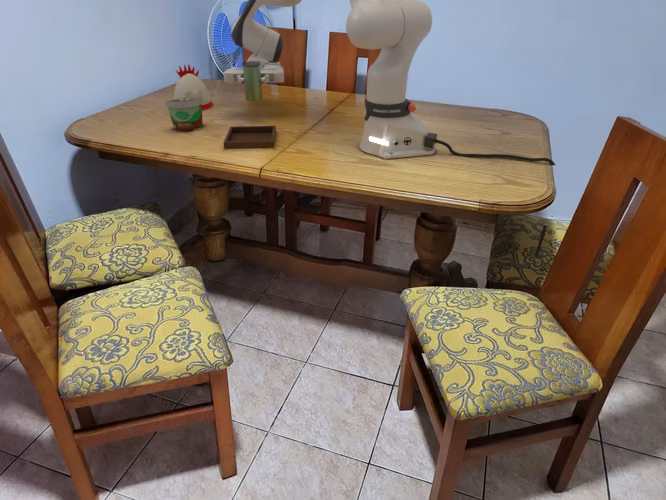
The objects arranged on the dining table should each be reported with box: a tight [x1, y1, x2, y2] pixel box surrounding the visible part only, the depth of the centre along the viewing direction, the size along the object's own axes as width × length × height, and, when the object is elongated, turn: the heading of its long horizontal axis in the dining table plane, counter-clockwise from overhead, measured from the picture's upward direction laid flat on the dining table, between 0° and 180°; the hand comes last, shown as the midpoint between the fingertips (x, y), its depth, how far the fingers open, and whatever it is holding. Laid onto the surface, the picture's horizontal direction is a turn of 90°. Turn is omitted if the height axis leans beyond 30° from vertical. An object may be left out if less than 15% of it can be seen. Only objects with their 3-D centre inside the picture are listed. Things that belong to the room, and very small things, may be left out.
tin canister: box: [241, 61, 264, 102], centre depth 152 cm, size 6×6×11 cm
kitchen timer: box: [173, 63, 213, 111], centre depth 172 cm, size 14×14×15 cm
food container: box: [164, 96, 204, 133], centre depth 150 cm, size 12×6×10 cm, turn 105°
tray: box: [223, 125, 277, 150], centre depth 143 cm, size 15×15×2 cm
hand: (252, 81), depth 151 cm, fingers closed on tin canister, 5 cm apart
